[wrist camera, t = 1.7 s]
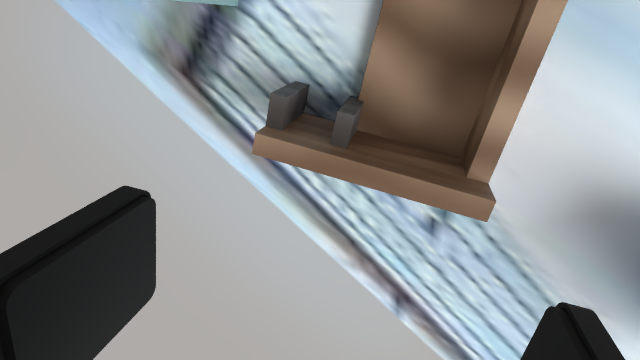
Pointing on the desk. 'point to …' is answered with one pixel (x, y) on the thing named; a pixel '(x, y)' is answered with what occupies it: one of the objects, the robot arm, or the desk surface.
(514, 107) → the cabinet
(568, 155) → the desk surface
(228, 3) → the door panel
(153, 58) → the desk surface
